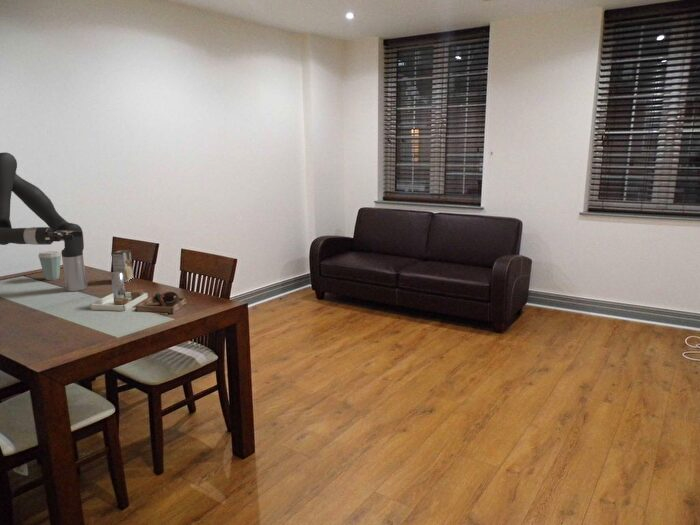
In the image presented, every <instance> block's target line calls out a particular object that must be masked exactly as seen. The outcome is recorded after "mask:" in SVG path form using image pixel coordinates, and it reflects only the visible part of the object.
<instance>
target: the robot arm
mask: <svg viewBox="0 0 700 525" xmlns="http://www.w3.org/2000/svg"><path fill="white" fill-rule="evenodd" d="M17 168H18V162H17V159H16V157H15V156H14V155H13V154H11V153H10V152H0V245H1V246H6V245H9V244H15V245H31V246H32V245H35V246H39V245H43V246H44V245H52V244H53V243H54V242H64V249H61V252H60V253H61V260H62V262H61V263H62V269H63V278H64V284H65V291H67V292H77V291H84V290H85V289H87V288H88V278H87V270H86V267H85V261H84V253H83V252H84V249H85V247H84V246H85V245H84V244H85V243H84V242H85V241H84V232H83V229H82V227H81V226H80V225H79V224H77V223H72V222H69V221H67V220H66V219H65V218H64V217H62V215H60V214H59V213H58V212H57V210H56V208H55V206H54V203H53V202H52V200H51V199H50V197H49V196H47V194H45V192H44V191H42V190H41V189H40V188H39V187H38V186H36V185H35V184H33V183H31V182H30V181H27V180H26V179H24V178H22V177H21V176H19V175H18V174H17ZM12 193H13V194H15V196H16V197H17V198H19V199H20V200H21V202H23V204H24V205H25V206H26V207H28V208H29V210H31V211H32V212H33V213H34V214H35V215H36V216H37V217H38V218H39V219H41V221H43V222H44V223H45V224H46V226H44V227H43V226H41V227H40V226H37V227H36V226H35V227H34V226H33V227H16V228H15V227H12V223H11V218H10V217H11V200H12ZM47 226H48V227H47Z"/></svg>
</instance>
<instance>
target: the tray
mask: <svg viewBox="0 0 700 525" xmlns="http://www.w3.org/2000/svg"><path fill="white" fill-rule="evenodd" d="M131 292H132V291H129V292H128V291H127V292H126V291H125V296H126V298H128V300H129V303H127V304H125V305H115V304H114V299H113V292H112V293H109V294H108V295H106V296H104V297H102V298H100V299H98V300H95V301H94V302H92V303H90V304H89V310H94V311H96V310H97V311H116V312H117V311H118V312H119V311H120V312H125V311H127V310H130V309H131V308H132V307H134V306H137V305H139V304H141V303H142V302H144V301H146V300H147V299H149V296H148V295H149V294H148V292H143V295H141V296H140V297H138V298H136V299H134V300H132V298H131Z"/></svg>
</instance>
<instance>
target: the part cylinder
mask: <svg viewBox="0 0 700 525" xmlns="http://www.w3.org/2000/svg"><path fill="white" fill-rule="evenodd" d="M110 278H111V286H112V287H111V288H112V293H113V299H114V300H116V299H119V298H126V296H125V292H126V289H125V283H124V276H123V272H114V271H112V272H111V273H110ZM114 304H115V303H114Z"/></svg>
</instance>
